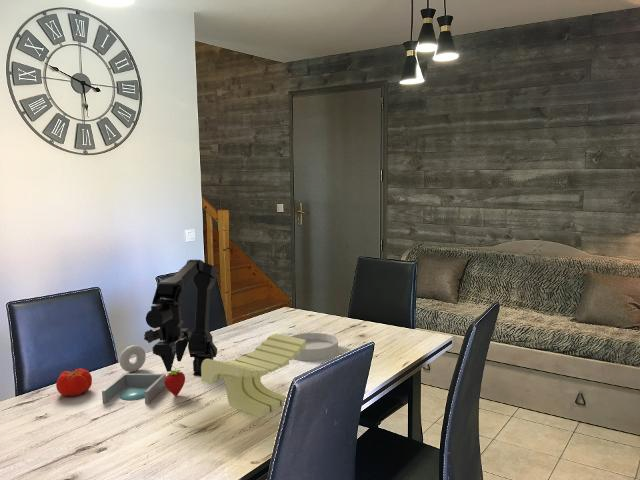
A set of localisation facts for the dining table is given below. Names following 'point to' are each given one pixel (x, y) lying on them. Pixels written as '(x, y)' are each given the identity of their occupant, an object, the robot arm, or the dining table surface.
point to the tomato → (74, 382)
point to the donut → (126, 355)
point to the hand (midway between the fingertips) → (174, 366)
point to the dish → (317, 347)
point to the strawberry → (174, 381)
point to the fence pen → (138, 392)
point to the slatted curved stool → (254, 374)
